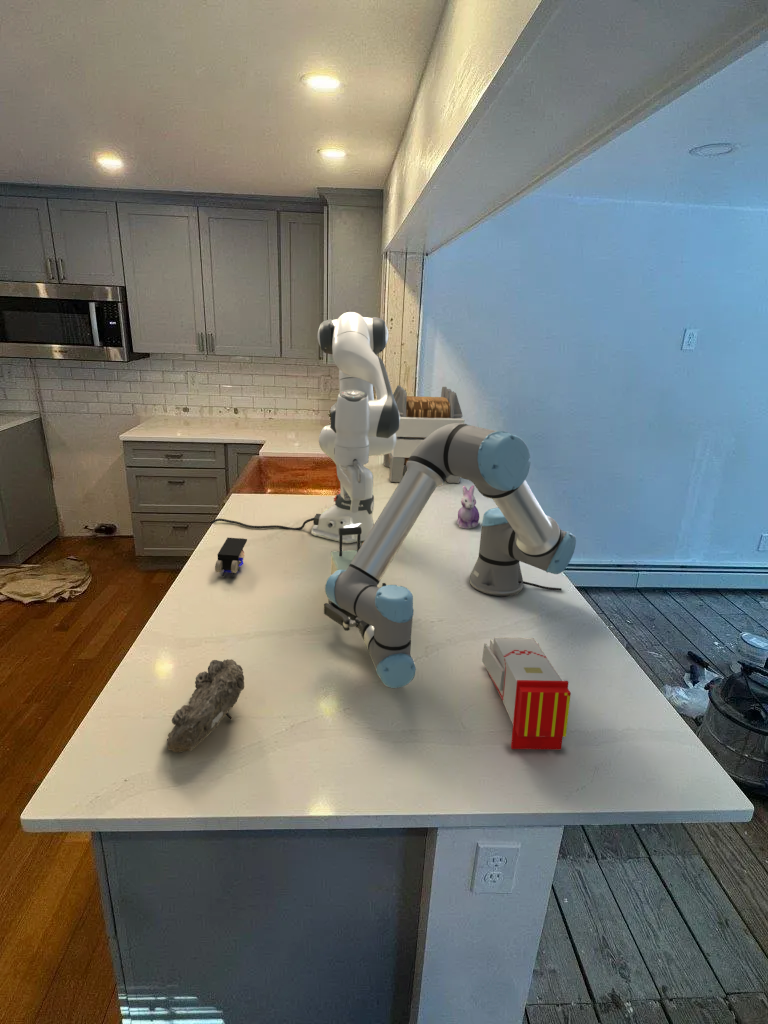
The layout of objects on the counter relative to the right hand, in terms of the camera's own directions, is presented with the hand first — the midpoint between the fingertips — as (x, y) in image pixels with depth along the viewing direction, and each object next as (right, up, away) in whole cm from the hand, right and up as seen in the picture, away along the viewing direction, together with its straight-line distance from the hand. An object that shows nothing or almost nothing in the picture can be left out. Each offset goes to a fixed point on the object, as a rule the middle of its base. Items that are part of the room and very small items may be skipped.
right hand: (357, 589), depth 145 cm
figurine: (+38, +15, +66) cm, 78 cm away
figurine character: (-38, +3, +23) cm, 44 cm away
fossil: (-26, -19, -37) cm, 49 cm away
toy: (+34, -19, -29) cm, 48 cm away
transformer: (+24, +39, +130) cm, 138 cm away
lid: (-2, +5, +7) cm, 9 cm away
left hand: (-2, +22, +6) cm, 23 cm away
